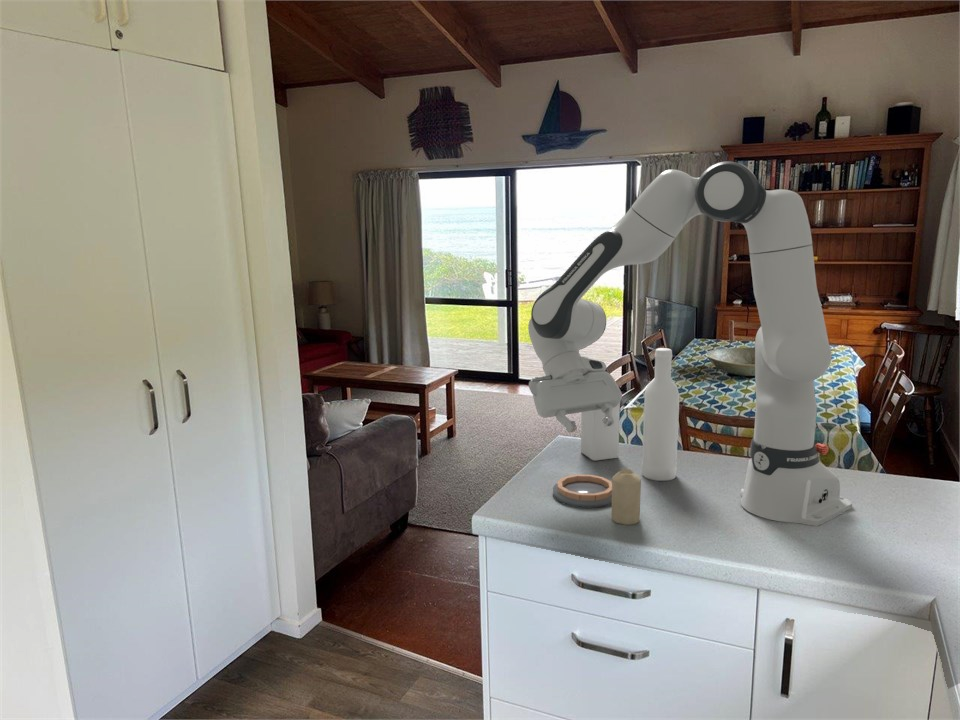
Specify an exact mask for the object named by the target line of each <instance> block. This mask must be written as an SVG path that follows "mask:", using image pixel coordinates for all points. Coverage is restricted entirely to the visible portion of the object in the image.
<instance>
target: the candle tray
mask: <svg viewBox="0 0 960 720" xmlns="http://www.w3.org/2000/svg"><path fill="white" fill-rule="evenodd" d="M552 496H553V498H554V499H555V500H556V501H557V502H559V503H562V504H564V505H567V506H570V507H575V508H580V509H581V508H583V509H595V508H596V509H597V508H604V507H607V506H612V480H609V479H607V478H605V477H603V476H598V475H595V474H594V475H593V474H571V475H566V476H563V477H562V478H560V479H559V480H557V483H555V484H554V485H553V487H552Z"/></svg>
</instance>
